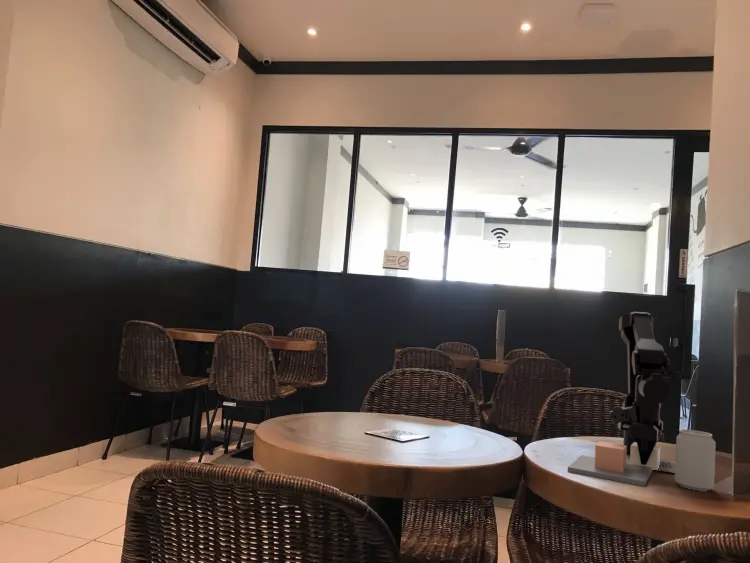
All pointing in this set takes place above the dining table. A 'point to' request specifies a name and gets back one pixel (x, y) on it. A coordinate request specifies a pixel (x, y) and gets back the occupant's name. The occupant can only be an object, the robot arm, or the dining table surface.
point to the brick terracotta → (610, 456)
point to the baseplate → (611, 471)
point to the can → (695, 460)
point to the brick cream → (652, 461)
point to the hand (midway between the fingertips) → (644, 462)
